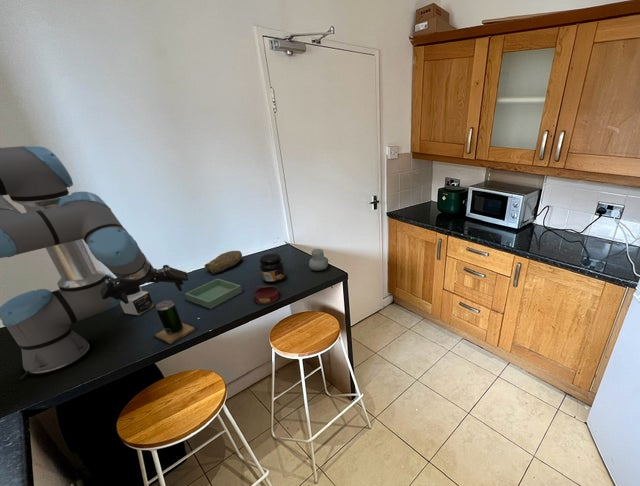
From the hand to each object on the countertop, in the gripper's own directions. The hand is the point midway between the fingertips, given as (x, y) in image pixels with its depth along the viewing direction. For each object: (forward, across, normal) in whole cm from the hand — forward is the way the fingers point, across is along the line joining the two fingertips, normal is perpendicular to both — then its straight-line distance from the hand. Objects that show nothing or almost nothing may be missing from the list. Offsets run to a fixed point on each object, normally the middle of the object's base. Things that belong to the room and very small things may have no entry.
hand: (153, 293), depth 97 cm
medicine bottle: (+42, -12, +10) cm, 45 cm away
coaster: (+23, 0, -9) cm, 25 cm away
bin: (+39, +15, +7) cm, 42 cm away
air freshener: (+39, +64, +7) cm, 75 cm away
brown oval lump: (+60, +24, +28) cm, 71 cm away
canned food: (+28, +34, -4) cm, 45 cm away
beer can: (+23, 0, -8) cm, 24 cm away
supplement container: (+40, +41, +7) cm, 58 cm away
